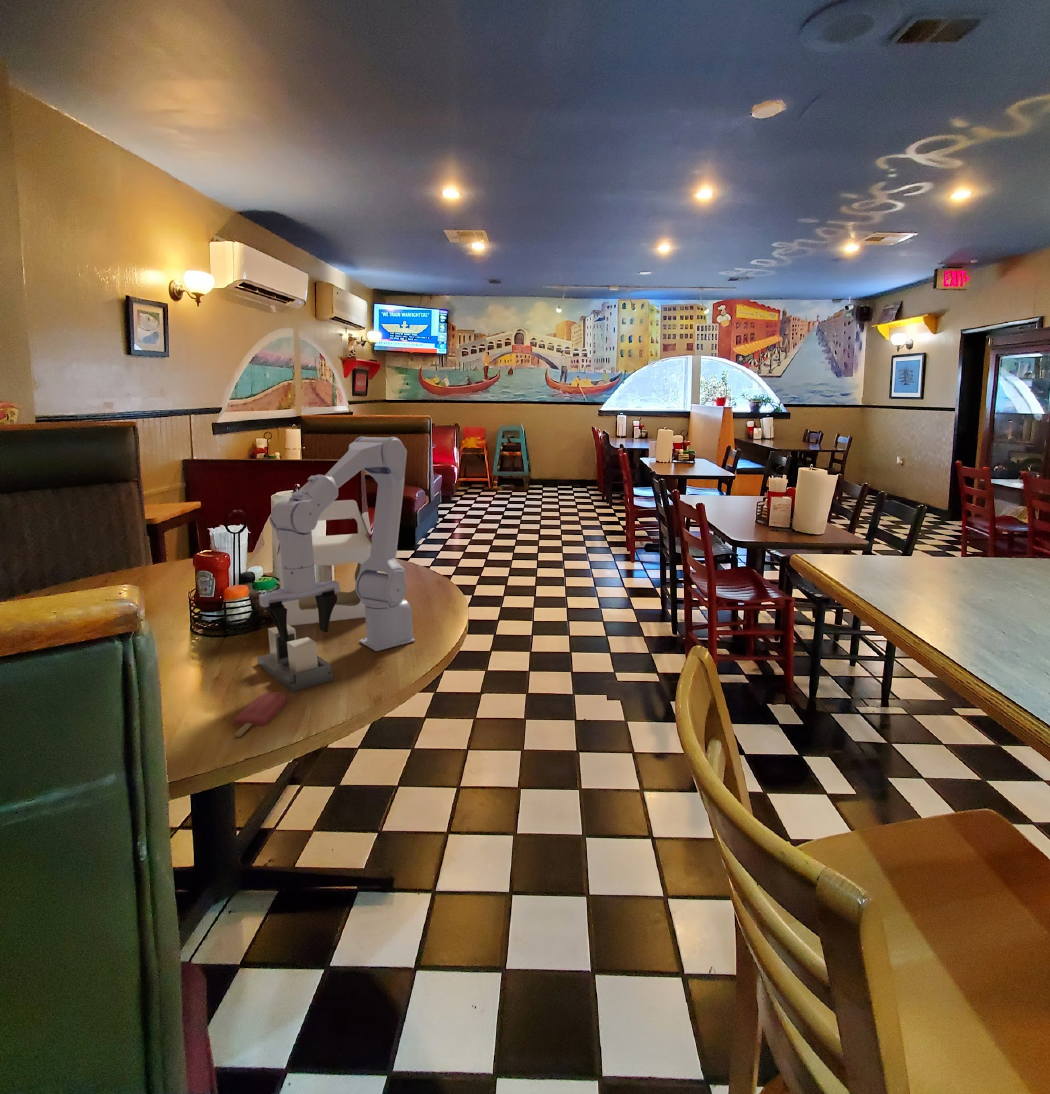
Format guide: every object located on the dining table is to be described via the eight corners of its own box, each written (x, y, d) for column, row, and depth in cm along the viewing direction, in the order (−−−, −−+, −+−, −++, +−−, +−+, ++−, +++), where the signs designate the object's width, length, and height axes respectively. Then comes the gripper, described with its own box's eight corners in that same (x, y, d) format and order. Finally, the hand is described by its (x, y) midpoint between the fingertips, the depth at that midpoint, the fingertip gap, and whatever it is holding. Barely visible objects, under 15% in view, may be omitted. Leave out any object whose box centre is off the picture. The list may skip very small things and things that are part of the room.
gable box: (372, 601, 179) (365, 495, 173) (379, 616, 167) (372, 502, 161) (282, 611, 172) (272, 500, 166) (282, 627, 160) (271, 508, 154)
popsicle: (219, 731, 107) (262, 691, 122) (220, 740, 108) (262, 699, 122) (253, 732, 107) (291, 691, 121) (253, 741, 107) (292, 700, 122)
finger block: (318, 672, 129) (315, 642, 127) (297, 678, 126) (294, 647, 125) (309, 666, 132) (307, 636, 131) (289, 671, 129) (286, 641, 128)
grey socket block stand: (296, 654, 142) (293, 619, 141) (333, 680, 129) (330, 642, 127) (257, 663, 137) (254, 628, 136) (291, 692, 124) (287, 653, 122)
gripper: (326, 555, 133) (332, 622, 136) (250, 568, 124) (258, 639, 127) (342, 561, 128) (347, 630, 131) (264, 575, 119) (271, 649, 122)
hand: (304, 635), depth 129 cm, fingers open, 7 cm apart
